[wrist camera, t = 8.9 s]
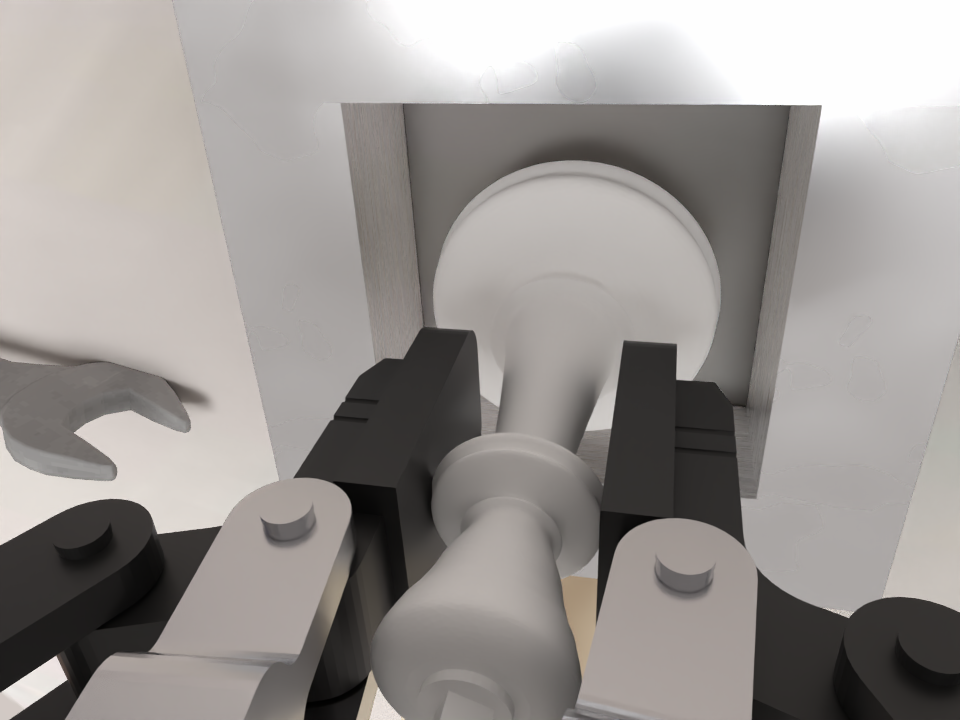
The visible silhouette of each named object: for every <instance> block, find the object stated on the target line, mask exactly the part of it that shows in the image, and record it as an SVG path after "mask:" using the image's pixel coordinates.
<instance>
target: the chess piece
mask: <svg viewBox="0 0 960 720" xmlns="http://www.w3.org/2000/svg"><path fill="white" fill-rule="evenodd" d="M433 307H434V316H435V321H436V325H437V328H446V329H461V330H473V331H474V332H475V335H476V339H477V347H478V364H479V382H480V394H481V395H482V396H483V397H484V398H486V399H487V400H488V401H490V402H491V403H493V404H494V405H496V406H497V407H499V412H498V420H497V427H496V432H495V433H494V434H486V435H482V436H479V437H475V438H472V439H470V440H468V441H466V442H464V443H462V444H460V445H458V446H457V447H455V448H454V449H453V450H451V451H450V452H449V453H448V454H447V455H446V456H445V457H444V458H443V460H442V461H441V462H440V464H439V465H438V467H437V469H436V471H435V473H434V476H433V480H432V500H431V511H432V517H433V521H434V524H435V527H436V529H437V531H438V533H439V535H440V537H441V538H442V540H443V541H444V542H445V544H446V545H447V546H448V547H447V548H446V549H445V551H444V552H443V553H442V554H441V556H440V557H439V559H438V560H437V562H436V563H435V564H434V566H433V567H432V568H431V569H430V570H429V571H428V572H427V573H426V574H425V575H424V576H423V577H422V578H421V579H420V580H419V581H418V582H417V583H415V584H414V585H413V586H411V587H410V588H409V589H408V590H407V591H406V592H405V593H404V594H403V595H402V597H401V598H400V599H399V600H398V601H397V602H396V603H395V604H394V606H393V607H392V608H391V609H390V610H389V612H388V613H387V614H386V615H385V617H384V618H383V620H382V621H381V623H380V624H379V626H378V628H377V630H376V632H375V634H374V637H373V640H372V644H371V650H370V661H371V668H372V672H373V676H374V678H375V681H376V683H377V685H378V687H379V689H380V691H381V692H382V694H383V696H384V697H385V699H386V700H387V701H388V703H389V704H390V705H391V706H392V707H393V708H394V709H395V710H396V712H397V713H398V714H399V715H401V716H402V717H403V718H404V719H405V720H562V718H563V715H564V713H565V711H566V710H567V709H568V708H571V709H574V708H575V705H576V702H577V699H578V695H579V691H580V688H581V684H582V675H581V667H580V662H579V657H578V652H577V648H576V643H575V639H574V636H573V633H572V630H571V628H570V626H569V623H568V619H567V615H566V611H565V607H564V601H563V590H562V583H561V579H563V578H566V577H568V576H570V575H572V574H574V573H576V572H578V571H579V570H581V569H582V568H583V567H584V566H586V565H587V564H588V563H589V562H590V561H591V559H592V558H593V557H594V556H595V554H596V552H597V550H598V549H599V526H600V508H601V500H602V493H603V485H602V483H601V482H600V480H599V479H598V477H597V476H596V474H595V473H594V472H593V471H592V469H591V468H590V467H589V466H588V465H587V464H586V463H585V462H584V461H582V460H581V459H580V458H579V457H578V456H576V453H577V450H578V447H579V445H580V442H581V440H582V438H583V435H584V432H585V431H595V430H603V429H610V428H612V420H613V413H614V406H615V399H616V391H617V384H618V377H619V370H620V362H621V355H622V348H623V341H624V340H627V341H642V342H658V343H673V344H677V370H676V380H686V381H692V380H693V379H694V378H695V376H696V375H697V373H698V372H699V370H700V369H701V367H702V365H703V364H704V362H705V360H706V358H707V355H708V353H709V351H710V348H711V345H712V342H713V338H714V334H715V330H716V327H717V323H718V319H719V314H720V307H721V282H720V275H719V270H718V265H717V262H716V258H715V255H714V253H713V250H712V248H711V245H710V243H709V241H708V239H707V237H706V235H705V233H704V232H703V230H702V229H701V227H700V225H699V224H698V223H697V221H696V220H695V219H694V217H693V216H692V215H691V214H690V213H689V211H688V210H687V209H686V208H685V207H684V206H683V205H682V204H681V203H680V202H679V201H678V200H677V199H676V198H674V197H673V196H672V195H671V194H670V193H668V192H667V191H666V190H664V189H663V188H661V187H660V186H658V185H657V184H655V183H654V182H652V181H650V180H648V179H646V178H644V177H643V176H640V175H638V174H636V173H634V172H631V171H628V170H626V169H623V168H620V167H617V166H613V165H609V164H604V163H599V162H592V161H581V160H565V161H553V162H546V163H541V164H537V165H533V166H530V167H526V168H523V169H520V170H518V171H515V172H513V173H511V174H508V175H506V176H504V177H503V178H501V179H499V180H497V181H496V182H494V183H492V184H491V185H489V186H488V187H487V188H485V189H484V190H483V191H481V192H480V193H479V194H478V195H477V196H476V197H475V198H474V199H472V200H471V201H470V203H469V204H468V205H467V206H466V207H465V208H464V209H463V211H462V212H461V213H460V214H459V216H458V217H457V219H456V220H455V222H454V223H453V225H452V227H451V229H450V231H449V233H448V235H447V237H446V239H445V242H444V244H443V248H442V251H441V254H440V259H439V262H438V265H437V269H436V273H435V279H434V287H433Z"/></svg>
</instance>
